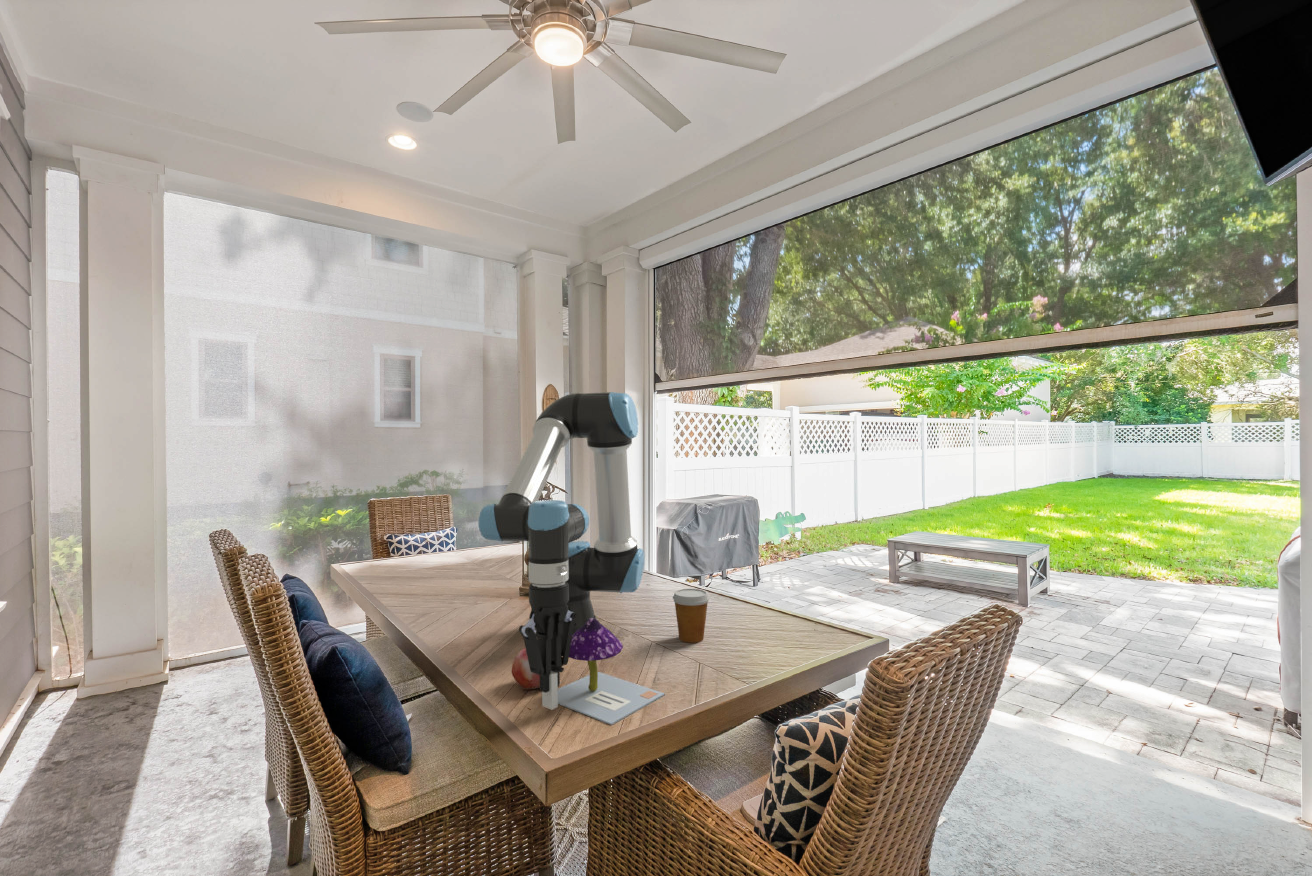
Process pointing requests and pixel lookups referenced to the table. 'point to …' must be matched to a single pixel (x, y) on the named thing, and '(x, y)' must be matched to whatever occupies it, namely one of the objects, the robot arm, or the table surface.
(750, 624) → the table surface
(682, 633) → the disposable coffee cup
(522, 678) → the fruit
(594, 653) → the decorative mushroom
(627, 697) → the letter
